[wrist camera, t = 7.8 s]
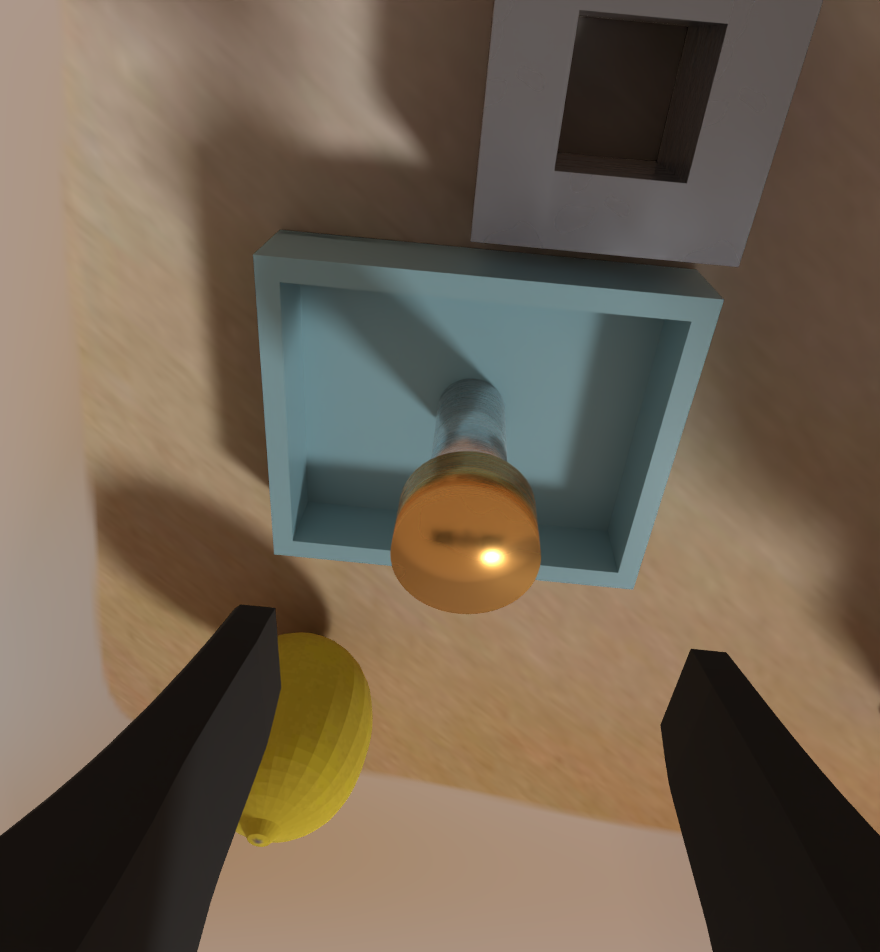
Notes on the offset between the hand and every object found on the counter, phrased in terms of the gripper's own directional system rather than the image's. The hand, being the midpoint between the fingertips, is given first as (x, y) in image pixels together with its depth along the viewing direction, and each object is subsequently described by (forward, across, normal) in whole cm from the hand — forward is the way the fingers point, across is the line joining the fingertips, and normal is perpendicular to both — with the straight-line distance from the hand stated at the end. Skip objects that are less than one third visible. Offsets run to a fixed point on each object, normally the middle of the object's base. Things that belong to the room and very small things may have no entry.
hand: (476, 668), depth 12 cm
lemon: (+11, +5, +11) cm, 16 cm away
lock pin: (+10, 0, 0) cm, 10 cm away
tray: (+10, 0, 0) cm, 10 cm away
